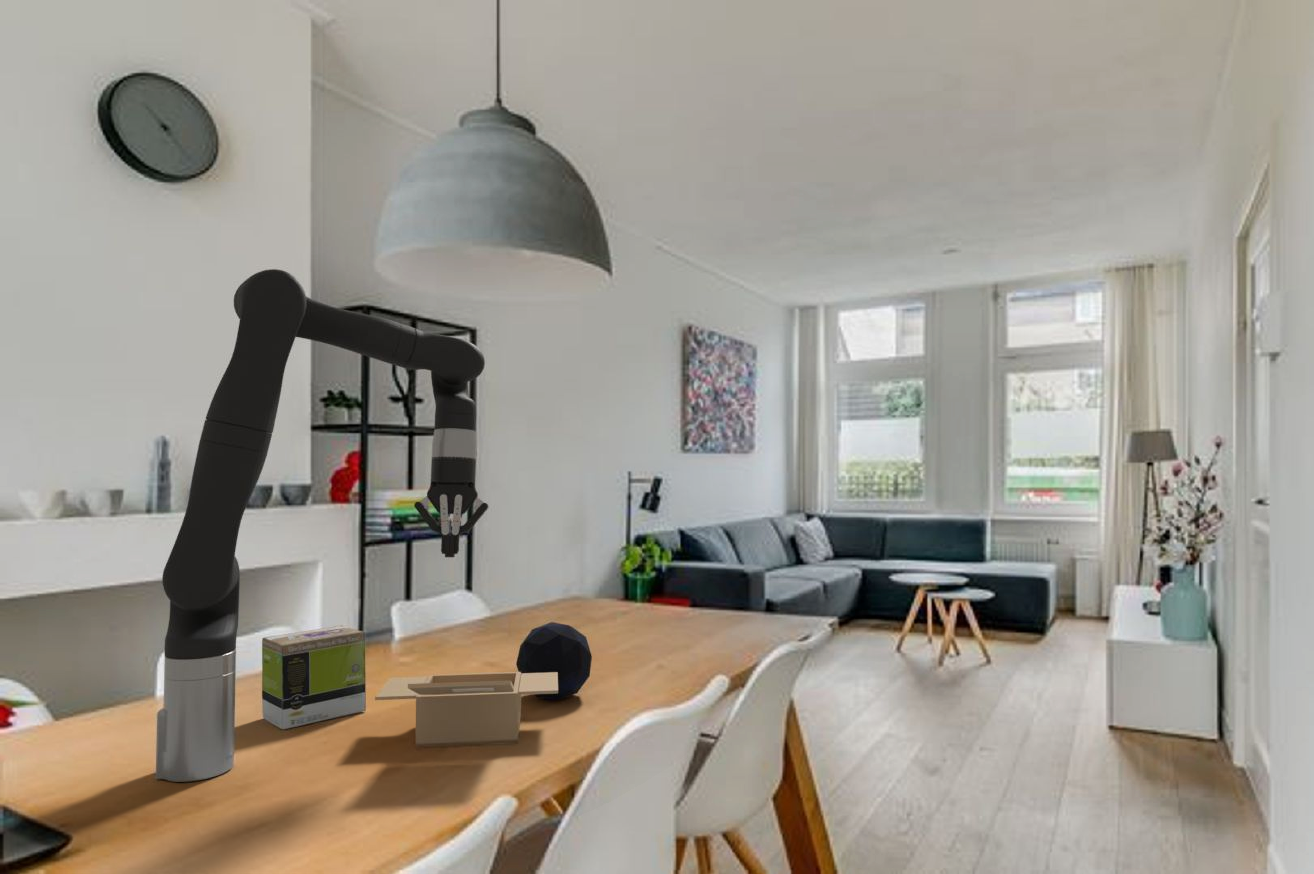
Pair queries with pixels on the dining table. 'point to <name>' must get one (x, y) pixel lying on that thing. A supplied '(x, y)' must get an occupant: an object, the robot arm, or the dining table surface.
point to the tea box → (313, 676)
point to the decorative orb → (556, 657)
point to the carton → (469, 708)
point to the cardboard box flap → (462, 687)
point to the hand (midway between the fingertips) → (449, 557)
